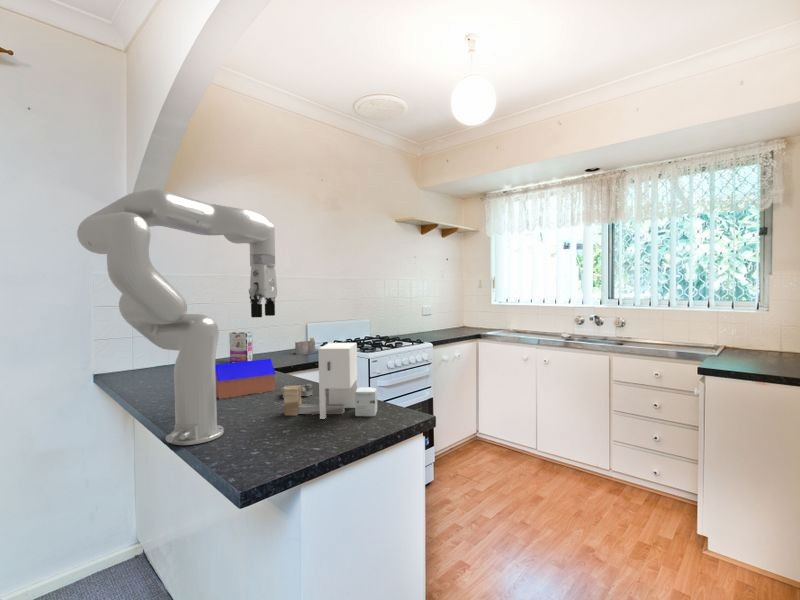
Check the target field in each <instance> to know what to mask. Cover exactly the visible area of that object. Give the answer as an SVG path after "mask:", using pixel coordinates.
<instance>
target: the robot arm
mask: <svg viewBox="0 0 800 600" xmlns="http://www.w3.org/2000/svg"><path fill="white" fill-rule="evenodd" d="M150 227H165V228H170V229H174V230H179V231H182V232H186V233H190V234H196V235H198V236H199V235H200V236H223V237H224V238H225V239H226V240H227V241H228V242H230V243H232V244H236V245H237V244H248V245H249V267H250V279H249V281H250V282H249V288H248V293H249V299H250V315H251V316H250V317H251V318H262V317H263V303H262V301H263V298H264V300H265V303H264V315H265V316H267V317H271V316H272V317H273V316H276V297H277V296H278V284H277V275H276V268H275V267H276V229H275V225H274V224H273V223H272V222H269V220H268V219H267V218H266V217H265V216H264V215H261V214H259V213H258V212H254V211H251V210H247V209H244V208H237V207H232V206H226V205H220V204H216V203H208V202H204V201H201V200H198V199H195V198H192V197H189V196H185V195H182V194H178V193H176V192H173V191H170V190H165V189H162V188H160V189H159V188H152V189H147V190H146V189H145V190H140V191H134V192H131V193H128V194H126V195H124V196H122V197H120V198H119V199H117V200H115V201H113V202H112V203H110V204H109V205H107V206H104V207H103V208H101V209H100V210H97V211H96V212H94V213H92V214H91V215H89V216H87V217H85V218H84V219H83V220H82V221H81V222H80V223H79V225H78V228H77V231H76V233H77V234H76V235H77V236H76V237H77V239H78V242H79V244H80V245H81V246H82V247H83V248H84V249H86V250H87V251H89V252H91V253H94V254H98V255H99V254H100V255H106V266H107V267H106V268H107V274H108V277H109V279H110V282H111V283H112V285H113V286H114V287H115V288H116V289H117V290H118V291H119V292H120V293H121V296H120V297H119V301H118V308H119V312H120V315H121V317H122V318H123V319H124V320H125V321H126V323H127V324H129V325H130V326H131V327H132V328H134V330H136V331H137V332H138V333H140V335H142V336H143V337H144V338H146V339H147V340H148V341H149V342H151V343H152V344H153V345H155V346H156V347H158V348H159V349H163V350H168V351H179V352H178V355H177V358H176V360H175V362H174V367H173V379H174V380H173V381H174V383H173V384H174V414H175V415H174V417H175V418H174V420H175V424H174V427H173V428H174V430H173V431H172V432H170V433H169V434H167V435H166V436H165V441H166V442H167V443H170V444H172V445H175V446H176V445H177V446H193V445H198V444H199V445H200V444H204V443H208V442H210V441H214V440H216V439H219V438H221V436H222V435H223V434H224V432H225V431H224V427H223V425H220V424H218V419H217V418H218V415H217V414H218V413H217V411H218V410H217V396H216V374H215V365H216V355H217V346H218V341H219V335H220V333H219V332H220V331H219V330H220V329H219V326H218V324H217V323H216V321H215V320H214V319H213V318H211V317H210V316H209V315H208V316H207V315H205V314H199V313H188V312H187V311H188V305H187V301H186V300H185V297H183V295H182V294H181V293H180V292H179V291H178V290H177V288H175V287H174V286H173V285H172V284H171V283H170V282H169V281H168V280H167V279H166V278H165V277H164V276H163V275H162V274H161V273H160V272H159V271H158V269H156V268H155V266H154V265H153V263H152V262H151V258H150V243H151V229H150Z"/></svg>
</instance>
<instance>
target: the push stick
mask: <svg viewBox="0 0 800 600" xmlns="http://www.w3.org/2000/svg"><path fill="white" fill-rule="evenodd" d="M286 386H287V387H286V388H285V389H284V399H283V407H284V416H299V415H298V414H307V415H306V416H309V415H308V414H312V415H311V416H313V415H314V414H320V403H315V404H313V403H310V404H309V403H302V397H301V386H302V385H301V386H298V385H286ZM343 413H345V408H344V404H329V403H326V414H342V415H341V416H343V415H344V414H343ZM314 416H315V415H314Z"/></svg>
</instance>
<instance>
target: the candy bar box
mask: <svg viewBox="0 0 800 600" xmlns="http://www.w3.org/2000/svg"><path fill="white" fill-rule="evenodd" d="M253 355H254V354H253V332H252V331H231V332H229V363H230V362H244V361H254V359H253V358H254V357H253Z"/></svg>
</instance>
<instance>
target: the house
mask: <svg viewBox="0 0 800 600" xmlns="http://www.w3.org/2000/svg"><path fill="white" fill-rule="evenodd" d="M215 374H216V398H219V399H218V400H223V399H222V398H226V399H230V398H229V397H233V398H236V397H235V396H239V397H243V396H242V395H246V396H248V395H247V394H252V395H254V394H253V393H259V394H261V393H260V392H265V393H267V392H266V391H272V392H274V391H273V390H276V387H275V386H276V383H275V378H276V377H275V375H276V371H275V368H274V364H273V362H272V358H265V359H257V360H256V359H255V360H254V359H253V361H244V362H235V363H230V362H226V363H225V362H224V363H218V364H216V363H215Z"/></svg>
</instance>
